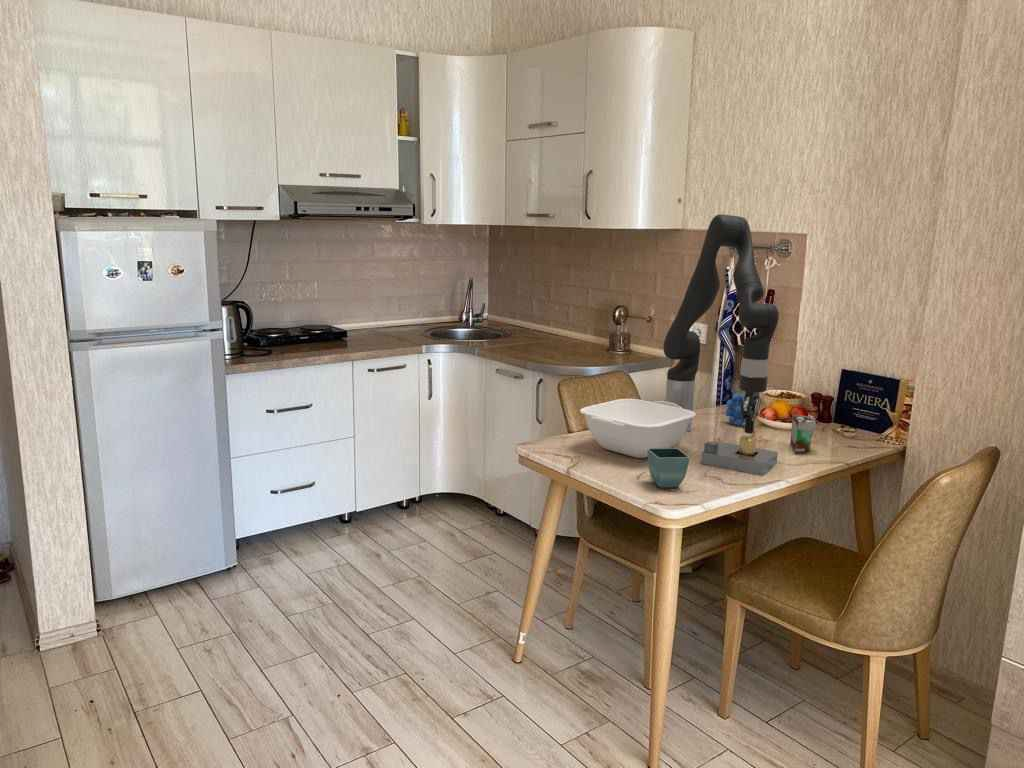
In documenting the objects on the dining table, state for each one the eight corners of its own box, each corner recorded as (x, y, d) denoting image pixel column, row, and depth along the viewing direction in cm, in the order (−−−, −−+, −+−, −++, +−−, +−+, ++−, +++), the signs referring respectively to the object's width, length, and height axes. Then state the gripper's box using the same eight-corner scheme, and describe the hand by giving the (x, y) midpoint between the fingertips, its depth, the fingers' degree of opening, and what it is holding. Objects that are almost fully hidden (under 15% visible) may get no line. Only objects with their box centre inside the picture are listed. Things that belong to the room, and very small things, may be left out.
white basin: (631, 431, 260) (633, 394, 257) (706, 449, 240) (709, 410, 238) (563, 450, 236) (565, 410, 233) (640, 473, 216) (643, 429, 214)
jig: (700, 463, 226) (702, 443, 225) (716, 452, 238) (718, 433, 236) (763, 475, 216) (765, 454, 215) (776, 463, 228) (778, 443, 227)
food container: (816, 456, 236) (820, 424, 234) (795, 455, 237) (798, 423, 235) (809, 445, 247) (813, 415, 245) (789, 444, 249) (792, 413, 247)
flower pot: (675, 479, 212) (678, 447, 210) (688, 490, 203) (690, 457, 201) (644, 480, 210) (646, 448, 209) (655, 491, 202) (657, 458, 200)
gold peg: (736, 465, 225) (738, 438, 224) (740, 461, 229) (742, 435, 227) (751, 468, 223) (753, 441, 221) (755, 464, 227) (758, 437, 225)
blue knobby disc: (760, 427, 268) (763, 393, 265) (749, 430, 264) (752, 396, 261) (732, 420, 277) (734, 387, 274) (720, 423, 272) (723, 389, 270)
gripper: (747, 368, 228) (742, 426, 231) (733, 375, 217) (728, 435, 220) (773, 371, 224) (768, 430, 227) (760, 379, 213) (755, 440, 216)
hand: (748, 432), depth 224 cm, fingers closed
